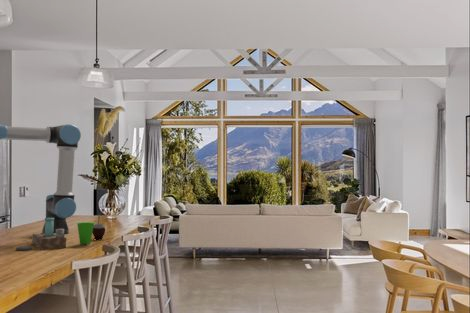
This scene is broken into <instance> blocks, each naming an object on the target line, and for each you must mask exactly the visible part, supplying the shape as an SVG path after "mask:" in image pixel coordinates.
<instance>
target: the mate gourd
mask: <svg viewBox="0 0 470 313" xmlns="http://www.w3.org/2000/svg"><path fill="white" fill-rule="evenodd" d="M100 218H101V213H98V217H97V220H98V221H97V224H94V227H93V232H92V236H93V237H94V238H93V239H98V240H99V239H102V238H103V237H104V235H105V233H106V227H105V225H104V224H100ZM103 239H104V238H103Z"/></svg>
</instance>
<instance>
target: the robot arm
mask: <svg viewBox="0 0 470 313" xmlns="http://www.w3.org/2000/svg"><path fill="white" fill-rule="evenodd" d="M81 137H82V134H81V131H80V129H79V128H78V126H76V125H74V124H69V123H67V124H61V125H55V126H46V127H26V126H24V127H22V126H20V127H19V126H8V125H5V124H0V140H4V141H5V140H6V141H7V140H9V141H10V140H11V141H12V140H14V141H33V142H34V141H40V142H46V143H47V144H55V145H56V148H57V150H59V151H58V164H57V176H56V178H57V179H56V180H57V181H56V191H55V192H54V193H53V194H48V195H47V196H46V199H45V218H54V226H53V233H56V229H64V235H66V234H69V232H70V229H69V224H68V223H67V219H68V218H70V217H72V216H73V215H74V214H75V213H76V211H77V202H76V201H75V194H74V193H73V184H74V182H73V181H74V165H75V152H76V151H77V149H78V145H79V144H78V143H79V141H80V140H81ZM41 234H45V223H44V224H43V227H42V230H41Z"/></svg>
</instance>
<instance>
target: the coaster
mask: <svg viewBox="0 0 470 313" xmlns="http://www.w3.org/2000/svg"><path fill="white" fill-rule="evenodd" d="M32 249H33V247H32V246H18V247H16V249H15V250H16V252H17V251H19V252H20V251H21V252H26V251H27V250H28V251H32Z"/></svg>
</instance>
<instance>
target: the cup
mask: <svg viewBox="0 0 470 313" xmlns="http://www.w3.org/2000/svg"><path fill="white" fill-rule="evenodd" d="M76 225H77V231H78V240H79V243H80V245H81V244H89V245H91V243H92V236H93V233H92V232H93V227H94V225H96V224H95V222H91V221H90V222H89V221H84V222H77V223H76Z"/></svg>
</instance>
